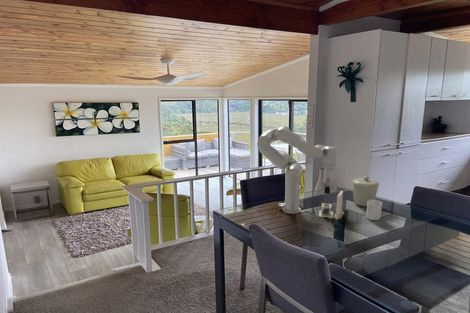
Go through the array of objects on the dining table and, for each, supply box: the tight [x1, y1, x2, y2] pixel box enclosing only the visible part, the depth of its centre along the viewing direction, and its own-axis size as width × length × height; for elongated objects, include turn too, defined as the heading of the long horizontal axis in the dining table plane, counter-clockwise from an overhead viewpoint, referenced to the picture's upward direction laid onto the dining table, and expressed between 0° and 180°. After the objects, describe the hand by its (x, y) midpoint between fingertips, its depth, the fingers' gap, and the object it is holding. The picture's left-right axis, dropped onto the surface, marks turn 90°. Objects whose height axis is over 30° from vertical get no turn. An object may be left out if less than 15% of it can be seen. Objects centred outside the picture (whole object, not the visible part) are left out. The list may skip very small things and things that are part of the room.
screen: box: [332, 190, 345, 220], centre depth 219 cm, size 4×11×16 cm, turn 150°
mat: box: [318, 209, 334, 219], centre depth 223 cm, size 9×9×1 cm
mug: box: [365, 199, 383, 221], centre depth 218 cm, size 12×9×11 cm
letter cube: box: [321, 202, 332, 216], centre depth 222 cm, size 6×6×6 cm
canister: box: [351, 175, 380, 208], centre depth 238 cm, size 18×18×21 cm
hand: (327, 190), depth 219 cm, fingers open, 9 cm apart
